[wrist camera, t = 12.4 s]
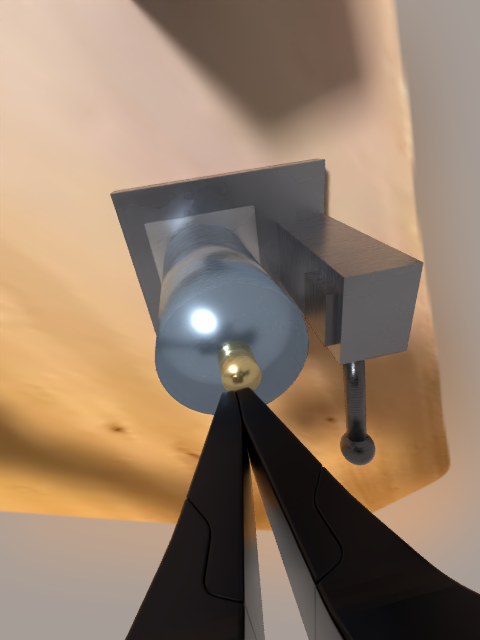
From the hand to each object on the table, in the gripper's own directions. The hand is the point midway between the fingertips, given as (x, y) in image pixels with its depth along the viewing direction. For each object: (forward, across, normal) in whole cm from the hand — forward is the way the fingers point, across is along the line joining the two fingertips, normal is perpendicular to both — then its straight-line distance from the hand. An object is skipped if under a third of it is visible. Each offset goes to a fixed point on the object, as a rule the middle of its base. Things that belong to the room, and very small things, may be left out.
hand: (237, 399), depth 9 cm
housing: (+12, 0, 0) cm, 12 cm away
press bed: (+13, -1, +2) cm, 13 cm away
